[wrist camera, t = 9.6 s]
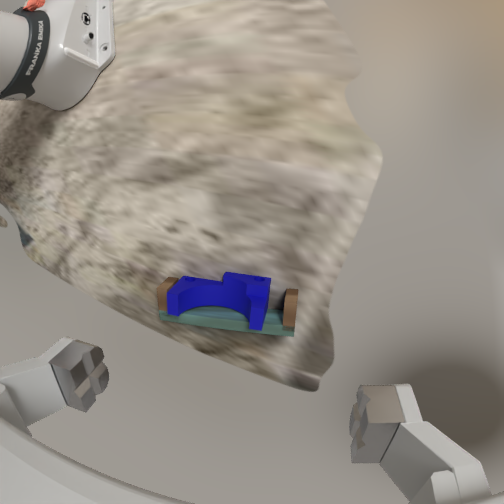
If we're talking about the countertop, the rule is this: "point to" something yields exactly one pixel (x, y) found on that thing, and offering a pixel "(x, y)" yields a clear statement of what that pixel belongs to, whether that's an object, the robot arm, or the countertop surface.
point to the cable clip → (223, 295)
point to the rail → (231, 314)
